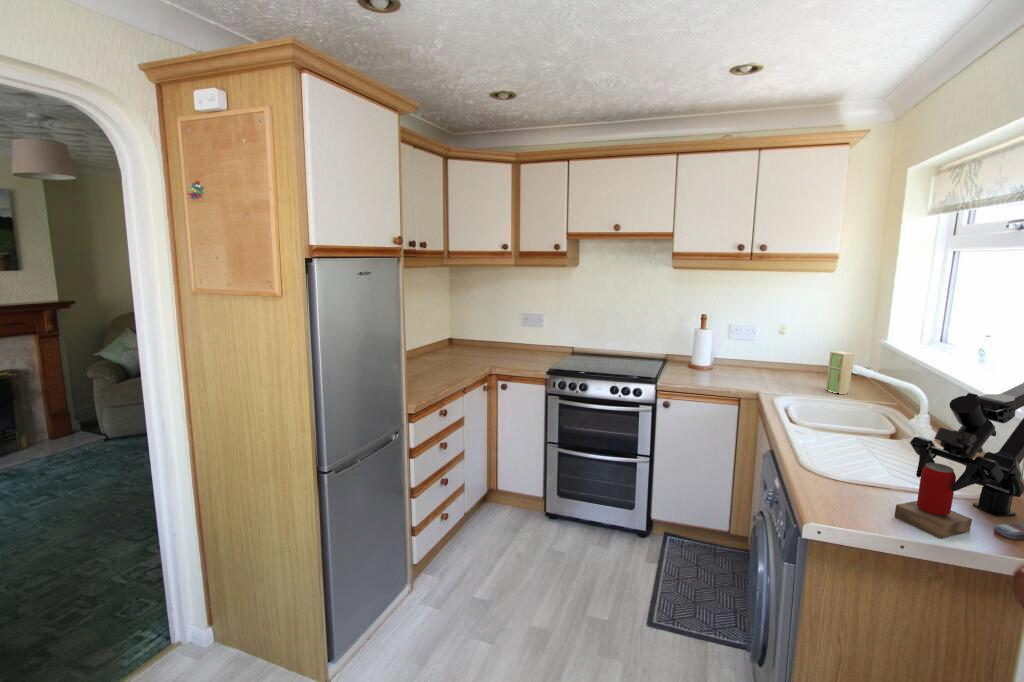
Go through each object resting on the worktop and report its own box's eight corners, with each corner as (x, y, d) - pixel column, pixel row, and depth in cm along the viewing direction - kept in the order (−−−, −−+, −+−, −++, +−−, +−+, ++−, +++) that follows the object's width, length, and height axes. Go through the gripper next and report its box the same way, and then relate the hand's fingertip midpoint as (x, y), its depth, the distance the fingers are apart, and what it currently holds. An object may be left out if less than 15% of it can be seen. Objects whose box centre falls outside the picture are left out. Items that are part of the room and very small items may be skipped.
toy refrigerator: (824, 391, 266) (829, 351, 262) (834, 390, 268) (840, 350, 265) (837, 395, 258) (843, 354, 255) (848, 394, 261) (854, 353, 257)
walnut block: (922, 511, 139) (924, 499, 139) (969, 532, 129) (972, 519, 129) (894, 517, 136) (896, 504, 135) (940, 538, 126) (942, 525, 125)
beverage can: (940, 506, 134) (947, 463, 133) (956, 519, 128) (963, 473, 126) (911, 503, 136) (917, 460, 134) (924, 515, 130) (931, 470, 128)
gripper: (920, 407, 138) (884, 450, 136) (1004, 429, 120) (965, 480, 119) (935, 432, 142) (901, 475, 140) (1019, 458, 124) (982, 507, 122)
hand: (934, 483), depth 130 cm, fingers open, 8 cm apart
